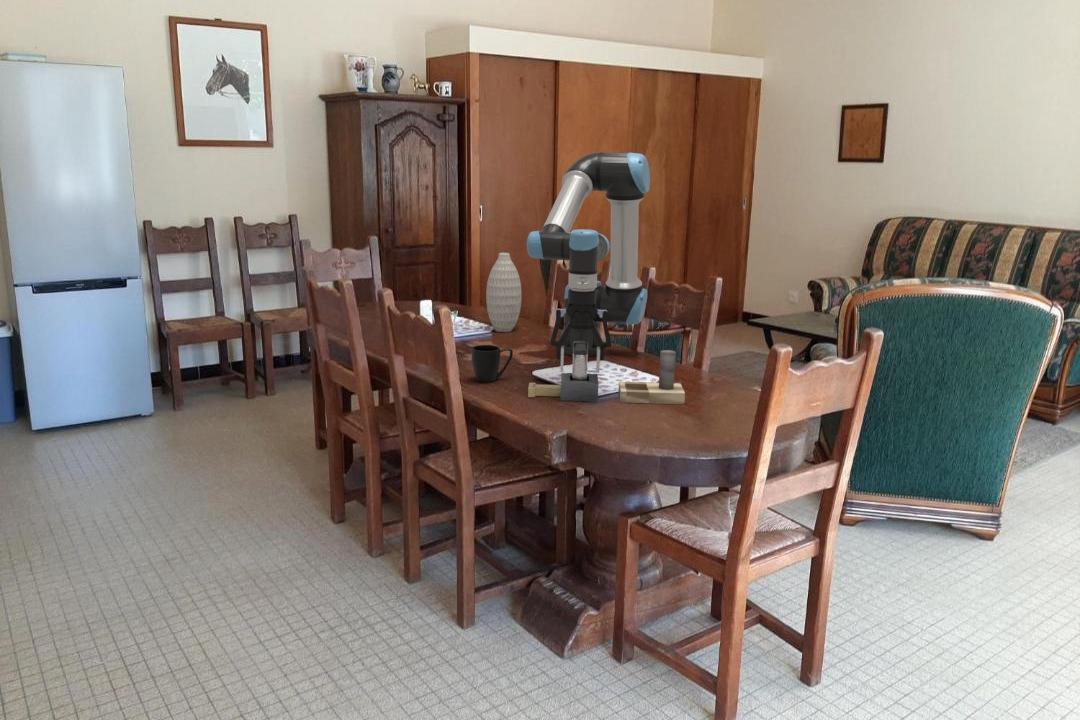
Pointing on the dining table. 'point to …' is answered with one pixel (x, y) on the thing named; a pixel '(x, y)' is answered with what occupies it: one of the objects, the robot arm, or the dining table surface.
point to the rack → (655, 386)
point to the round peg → (580, 361)
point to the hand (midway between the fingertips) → (579, 371)
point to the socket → (579, 388)
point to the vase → (503, 294)
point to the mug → (488, 362)
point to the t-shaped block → (543, 390)
